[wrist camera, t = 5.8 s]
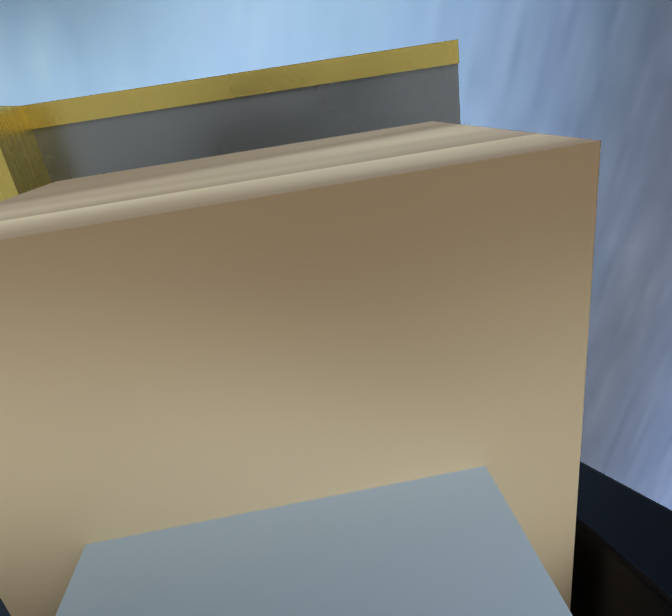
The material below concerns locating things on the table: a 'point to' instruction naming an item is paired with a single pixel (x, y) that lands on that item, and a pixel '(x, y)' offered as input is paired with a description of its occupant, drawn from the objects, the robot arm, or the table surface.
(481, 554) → the grey blue block
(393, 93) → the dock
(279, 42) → the table surface
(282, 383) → the tan stepped block
